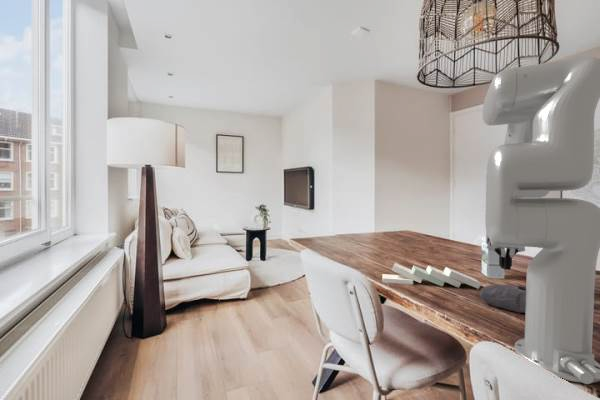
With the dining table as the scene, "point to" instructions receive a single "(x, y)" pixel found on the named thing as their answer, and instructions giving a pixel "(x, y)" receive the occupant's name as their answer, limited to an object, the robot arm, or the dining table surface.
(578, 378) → the robot arm
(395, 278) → the domino
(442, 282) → the domino
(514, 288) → the perforated stone tool
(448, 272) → the domino
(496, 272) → the syrup box
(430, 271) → the domino
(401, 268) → the domino
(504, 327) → the dining table surface
